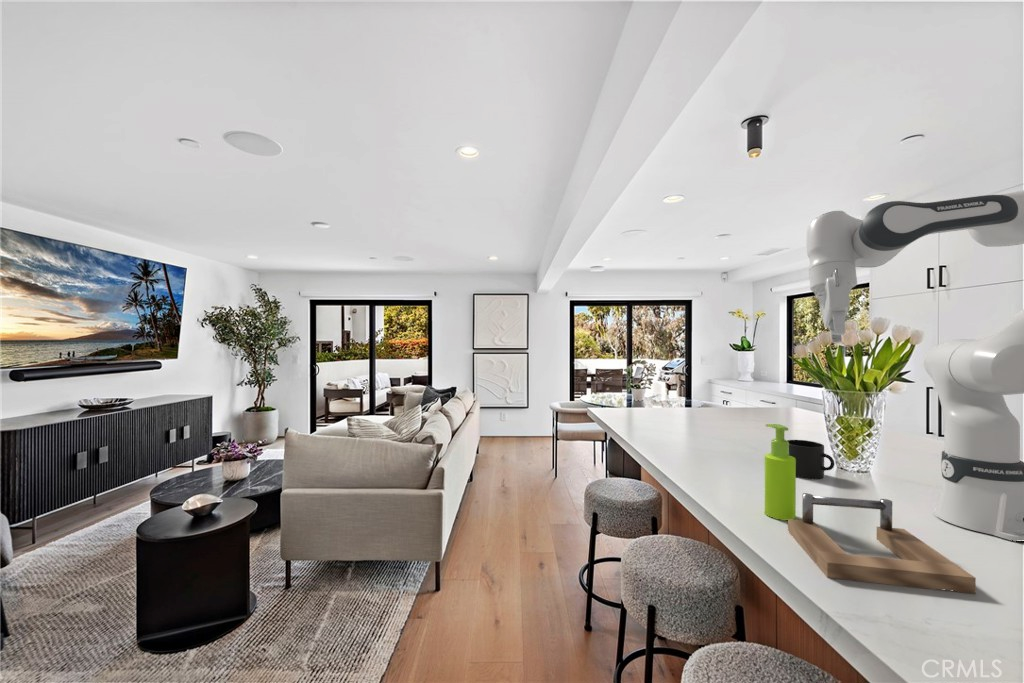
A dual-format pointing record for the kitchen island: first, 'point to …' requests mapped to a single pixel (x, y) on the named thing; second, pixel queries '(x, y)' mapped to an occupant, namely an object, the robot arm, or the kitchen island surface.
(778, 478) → the soap dispenser
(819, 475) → the mug
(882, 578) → the walnut board
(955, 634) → the kitchen island surface
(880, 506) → the steel rail
